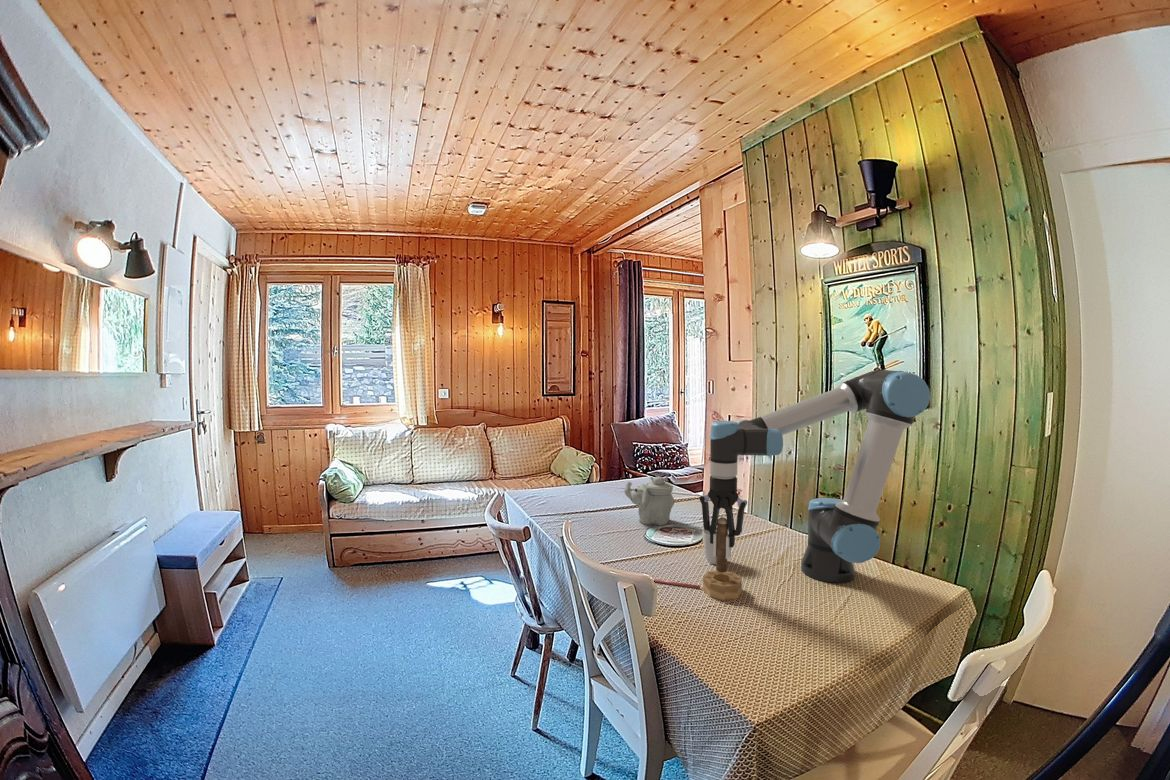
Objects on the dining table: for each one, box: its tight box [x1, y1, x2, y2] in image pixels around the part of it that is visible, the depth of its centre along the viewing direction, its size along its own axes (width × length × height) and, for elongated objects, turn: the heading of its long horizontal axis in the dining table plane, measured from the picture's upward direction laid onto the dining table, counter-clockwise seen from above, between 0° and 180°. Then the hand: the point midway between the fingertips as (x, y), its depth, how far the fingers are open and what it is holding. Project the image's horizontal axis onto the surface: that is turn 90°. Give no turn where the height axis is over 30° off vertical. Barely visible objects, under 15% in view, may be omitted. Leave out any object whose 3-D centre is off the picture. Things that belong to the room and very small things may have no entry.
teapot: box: [623, 475, 675, 526], centre depth 214 cm, size 16×15×19 cm
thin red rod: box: [653, 578, 701, 589], centre depth 158 cm, size 14×1×1 cm, turn 70°
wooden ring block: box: [702, 569, 743, 601], centre depth 153 cm, size 10×10×4 cm
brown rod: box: [715, 516, 729, 572], centre depth 152 cm, size 3×3×16 cm
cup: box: [702, 528, 717, 565], centre depth 174 cm, size 8×8×10 cm
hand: (721, 556), depth 152 cm, fingers closed on brown rod, 3 cm apart
